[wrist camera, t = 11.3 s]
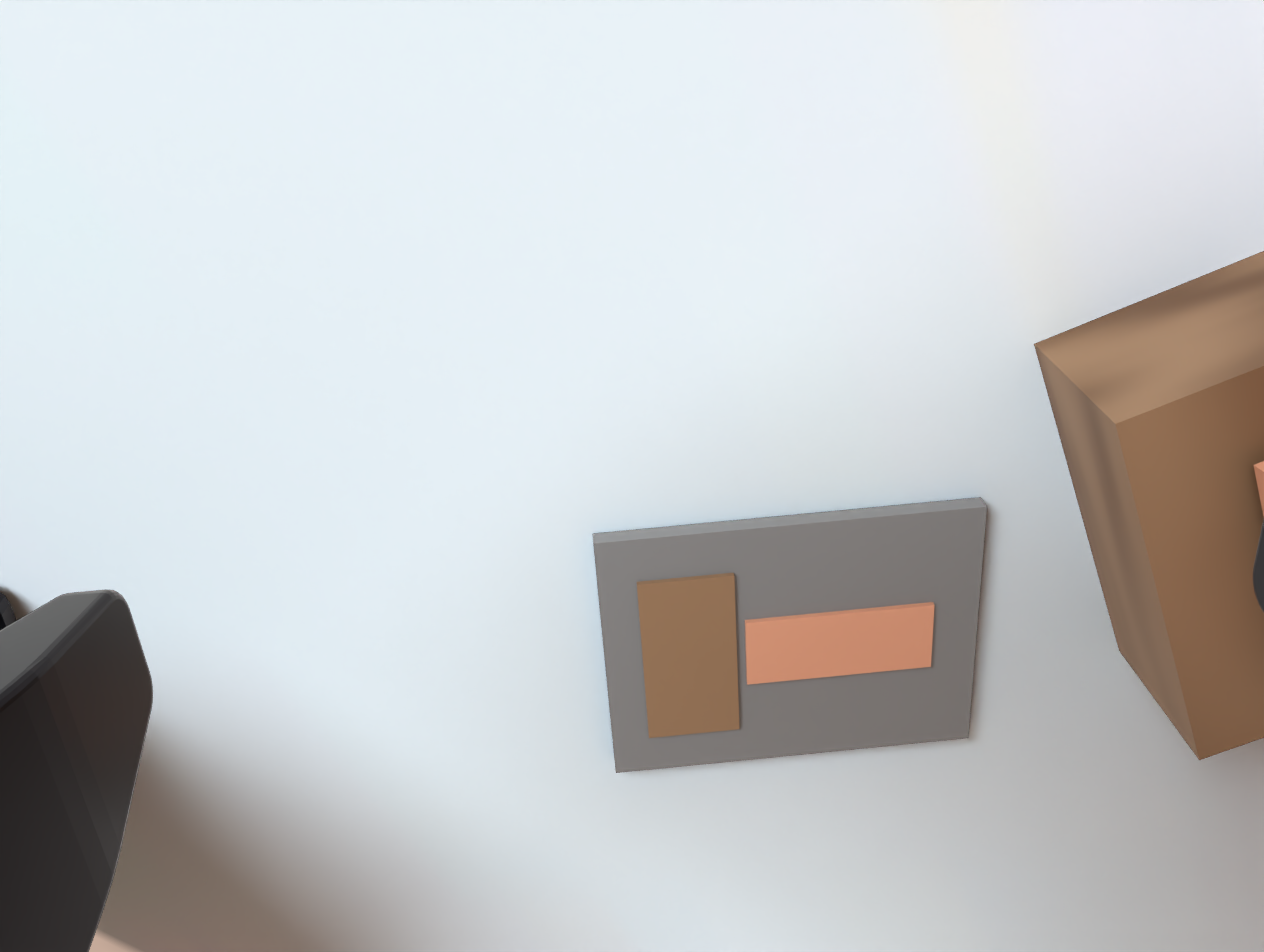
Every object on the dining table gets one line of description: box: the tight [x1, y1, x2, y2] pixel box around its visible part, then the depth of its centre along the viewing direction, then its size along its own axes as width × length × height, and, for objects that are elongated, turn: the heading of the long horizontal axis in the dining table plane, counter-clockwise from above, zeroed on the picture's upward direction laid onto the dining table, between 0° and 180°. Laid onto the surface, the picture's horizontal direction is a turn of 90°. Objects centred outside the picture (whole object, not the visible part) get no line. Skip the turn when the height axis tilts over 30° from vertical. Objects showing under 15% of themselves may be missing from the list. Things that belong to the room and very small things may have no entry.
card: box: [593, 497, 987, 773], centre depth 25 cm, size 8×6×1 cm
